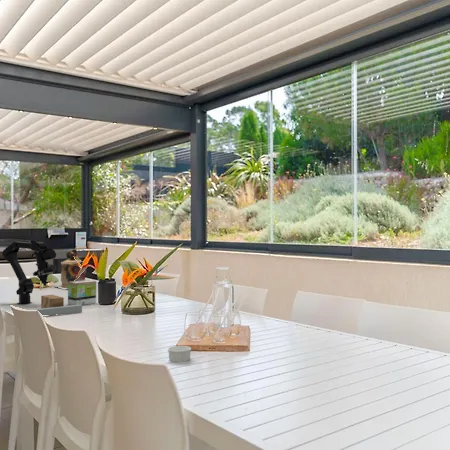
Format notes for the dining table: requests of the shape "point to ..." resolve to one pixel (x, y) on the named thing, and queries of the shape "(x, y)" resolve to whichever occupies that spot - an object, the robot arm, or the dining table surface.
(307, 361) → the dining table surface
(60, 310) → the gray bar
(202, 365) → the dining table surface
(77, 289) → the tea box
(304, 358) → the dining table surface
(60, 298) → the walnut block
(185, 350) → the ramekin
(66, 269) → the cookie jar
